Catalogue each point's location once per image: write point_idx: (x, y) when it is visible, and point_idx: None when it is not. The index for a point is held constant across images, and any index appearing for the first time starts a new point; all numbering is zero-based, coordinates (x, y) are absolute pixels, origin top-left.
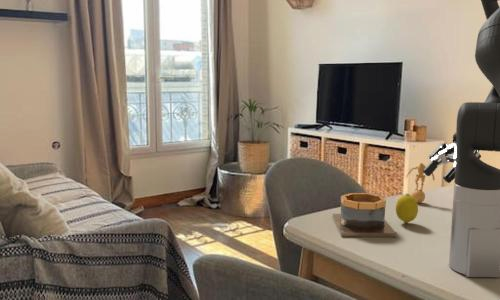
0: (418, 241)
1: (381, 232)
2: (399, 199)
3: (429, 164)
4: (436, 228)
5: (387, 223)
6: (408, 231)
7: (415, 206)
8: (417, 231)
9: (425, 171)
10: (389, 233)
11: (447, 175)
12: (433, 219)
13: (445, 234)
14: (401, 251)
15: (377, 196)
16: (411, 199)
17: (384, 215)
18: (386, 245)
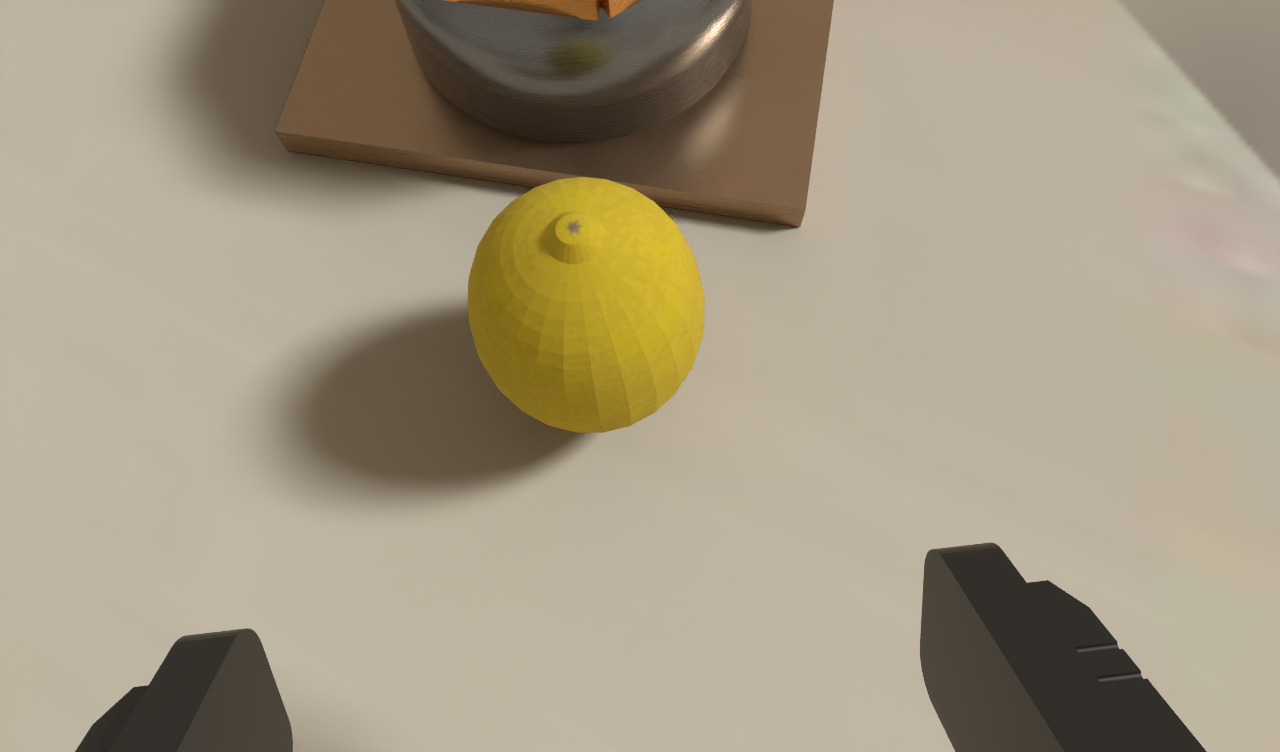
0: (150, 264)
1: (319, 42)
2: (589, 178)
3: (1063, 691)
4: (404, 580)
5: (522, 162)
6: (390, 296)
7: (476, 337)
8: (370, 367)
9: (933, 570)
10: (291, 90)
11: (152, 702)
12: (690, 714)
13: (225, 570)
14: (22, 77)
15: None
16: (492, 265)
17: (452, 56)
18: (157, 34)
